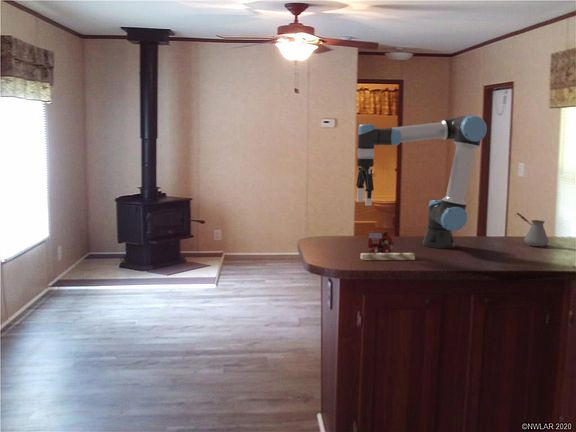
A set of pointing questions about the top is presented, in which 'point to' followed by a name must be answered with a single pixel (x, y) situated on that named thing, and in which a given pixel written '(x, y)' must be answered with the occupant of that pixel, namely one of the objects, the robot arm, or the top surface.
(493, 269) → the top surface
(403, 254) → the beige long bar
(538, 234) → the coffee pot
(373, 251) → the toy fire truck
